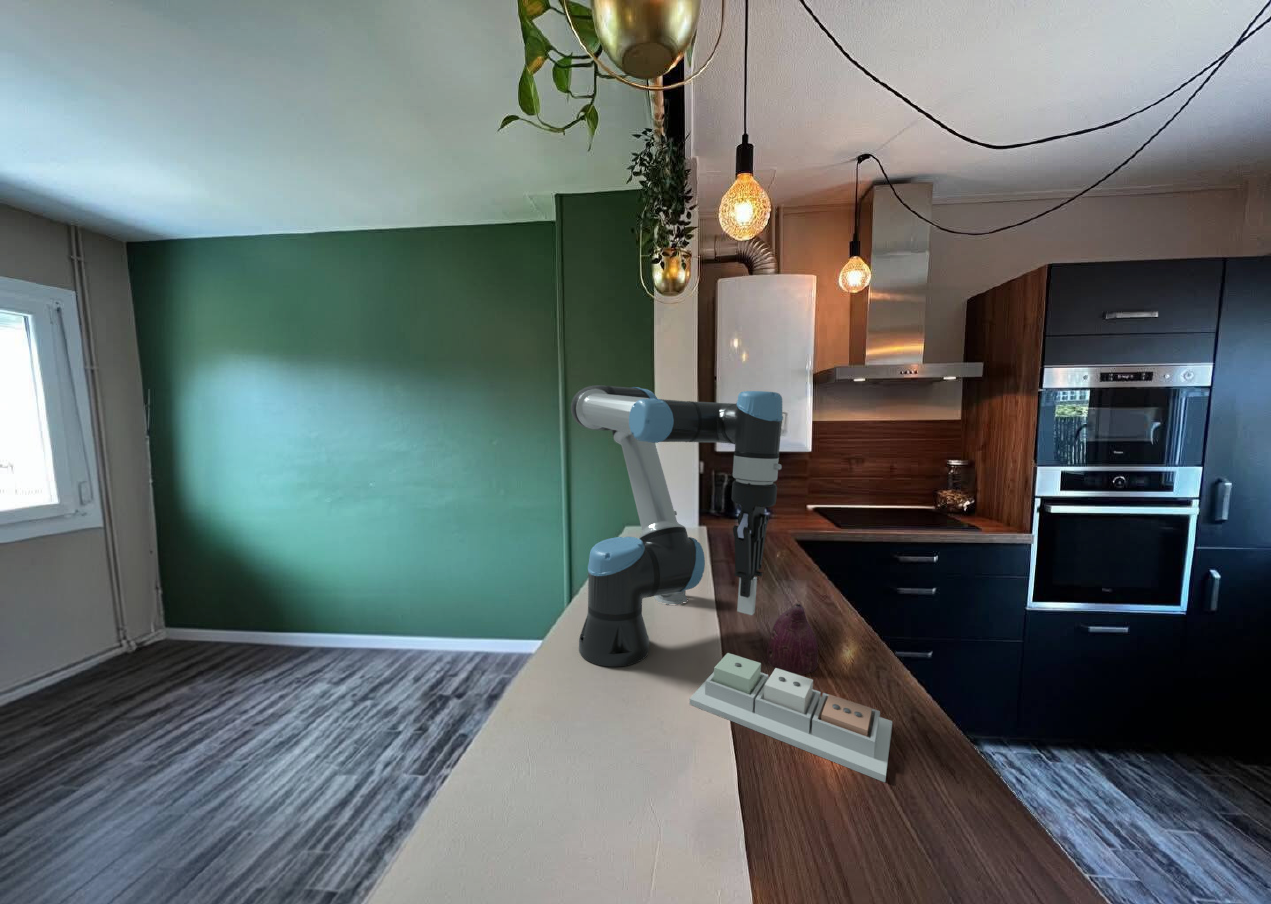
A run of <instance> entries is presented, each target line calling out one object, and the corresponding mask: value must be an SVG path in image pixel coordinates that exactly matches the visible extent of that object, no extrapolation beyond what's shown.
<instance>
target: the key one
mask: <svg viewBox="0 0 1271 904" xmlns="http://www.w3.org/2000/svg"><path fill="white" fill-rule="evenodd" d="M713 669H714V670H713V672H714V682H716V683H718V684H721V685H724V686H727V687H730V688H732V689H735V690H738V691H741V692H744V693H746V694H749V695H750V694H751V692H752V691H753V689H754V688H755V686H756V685H757V684H758V682H759V681H760V677H761V673H762V663H761V662H759V661H755V660H752V659H748V658H745V657H742V656H740V655H736V654H733V653H730V652H727V653H726V654H725V655H724V656H723V657H722V658H721V660H719V662H718V663H717V664H716V665H715V666H714V667H713Z"/></svg>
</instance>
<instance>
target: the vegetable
mask: <svg viewBox="0 0 1271 904" xmlns="http://www.w3.org/2000/svg"><path fill="white" fill-rule="evenodd" d="M806 616H807V615H806V611H805V609H804V607H803V605H801V604H800V603H799V602H797V603H796V604H793V605H792V606H791V607H790V608H789V609H788V610H786V611H784V612H782V613H781V614H780V615H779V616H778V618H777V619H776V620H775V622H774V625H773V627H772V629H771V632H770V635H769V638H768V642H767V649H766V660H767V662H768V663H769V664H770V665H771V666H773V667H775V668H778V669H781V670H784V671H787V672H790V673H793V674H797V675H802V674H803V675H804V674H805V675H806V674H809V673H812V672H814V671H815V670H817V667H818V659H819V650H818V649H819V648H818V647H819V645H818V642H817V641H818V640H817V638H816V636H815V633H814V631H813V629H812V627H811V625H810V623H809V621H808V620H807V617H806Z"/></svg>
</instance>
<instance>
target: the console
mask: <svg viewBox="0 0 1271 904" xmlns="http://www.w3.org/2000/svg"><path fill="white" fill-rule="evenodd" d="M768 679H769V674H766V673H764V672H761V677H760V681H759V682H758V684H757V685H756V686H755V688H754V689H753V691H752V692H751V694H750V695H749V694H746V693H744V692H741V691H738V690H735V689H732V688H730V687H727V686H724V685H721V684H718V683H716V682H714V671H713V672H712V673H711V674H710V675H709V676H708V677H707V678H706V679H705V681H704V682H702V684H701V685H700V686H699V688H698V689H696V691H695V692H694V693H693V694H692V695H691V696H690V697H689V703H688V704H689V706H690V705H691V706H692V707H695V708H698V709H701V710H703V711H705V712H708V713H709V714H710V713H711V714H713V715H715V716H718V715H719V716H718V717H720V716H721V717H720V718H723V717H724V718H723V719H725V718H727V719H726V720H729V721H730V722H733V723H736V724H738V725H739V726H740V725H741V726H743V727H745V728H748V729H750V730H752V731H755V732H758V733H761V734H763V735H766V736H768V737H769V738H773V739H776V740H778V741H780V742H782V743H786V744H788V745H790V746H793V747H795V748H798V749H800V750H803V751H806V752H808V753H810V754H813V755H815V756H817V757H820V758H823V759H826V760H828V761H831V762H833V763H836V764H837V765H841V766H843V767H845V768H848V769H849V770H852V771H855V772H858V773H860V774H863V775H866V776H868V777H870V778H873V779H875V780H878V781H880V782H883V783H886V778H887V772H888V770H887V769H888V763H889V756H890V755H889V754H890V753H889V752H890V745H891V740H892V739H891V738H892V730H893V721H892V720H889V719H887V718H884V717H881V711H880V710H877V709H874V708H872V715H871V728H870V733H869V737H866V736H863V735H861V734H858V733H855V732H852V731H850V730H847V729H844V728H841V727H838V726H836V725H833V724H830V723H827V722H824V721H822V720H821V715H822V712H823V709H824V706H825V704H826V701H827V698H828V696H829V693H825V692H821V691H819V690H816V689H813V694H812V699H811V701H810V703H809V706H808V708H807V710H806V712H805V714H802V713H799V712H797V711H794V710H791V709H788V708H785V707H783V706H780V705H777V704H774V703H771V702H769V701H766V700H764V688H765V683H766V682H767V680H768ZM821 693H822V694H821Z"/></svg>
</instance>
